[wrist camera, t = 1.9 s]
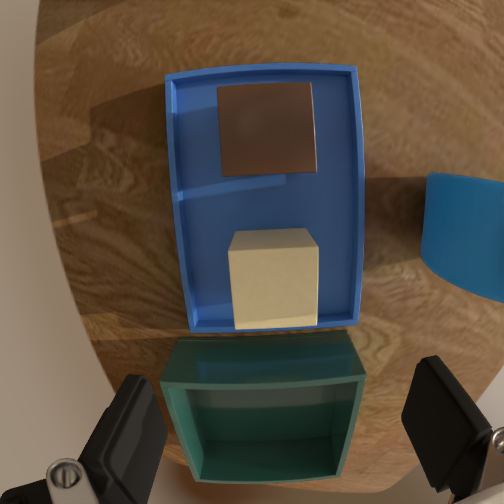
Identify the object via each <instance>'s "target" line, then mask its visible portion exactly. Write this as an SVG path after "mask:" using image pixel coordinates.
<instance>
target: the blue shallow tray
mask: <svg viewBox="0 0 504 504" xmlns="http://www.w3.org/2000/svg"><path fill="white" fill-rule="evenodd" d="M282 82H310V83H311V85H312V97H313V109H314V123H315V139H316V158H317V172H316V173H290V174H266V175H247V176H232V177H222V169H221V154H220V138H219V121H218V104H217V87H218V86H228V85H240V84H256V83H282ZM165 104H166V127H167V144H168V159H169V172H170V184H171V195H172V206H173V215H174V224H175V233H176V241H177V249H178V257H179V265H180V272H181V279H182V286H183V292H184V299H185V305H186V311H187V317H188V323H189V329H190V333H226V332H260V331H281V330H298V329H312V328H325V327H336V326H347V325H357V324H358V320H359V310H360V299H361V287H362V273H363V255H364V227H365V173H364V146H363V128H362V115H361V103H360V93H359V83H358V75H357V66H352V65H339V64H320V63H267V64H248V65H234V66H223V67H214V68H206V69H198V70H191V71H184V72H178V73H172V74H167V75H165ZM290 228H306V229H307V231H308V232H309V234H310V235H311V237H312V238H313V240H314V241H315V242H316V244H317V245H318V247H319V265H318V310H317V325H315V326H301V327H285V328H265V329H237V330H236V329H235V325H234V314H233V304H232V293H231V282H230V271H229V260H228V250H229V247H230V244H231V242H232V239H233V236H234V234H235V231H249V230H269V229H290Z"/></svg>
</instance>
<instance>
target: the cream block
mask: <svg viewBox="0 0 504 504" xmlns="http://www.w3.org/2000/svg"><path fill="white" fill-rule="evenodd" d="M228 260H229V271H230V282H231V293H232V304H233V314H234V325H235V329H236V330H237V329H265V328H285V327H301V326H315V325H317V310H318V265H319V247H318V245H317V244H316V242H315V241H314V240H313V238H312V237H311V235H310V234H309V232H308V231H307V229H306V228H290V229H269V230H249V231H235V234H234V236H233V239H232V242H231V244H230V247H229V250H228Z"/></svg>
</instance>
